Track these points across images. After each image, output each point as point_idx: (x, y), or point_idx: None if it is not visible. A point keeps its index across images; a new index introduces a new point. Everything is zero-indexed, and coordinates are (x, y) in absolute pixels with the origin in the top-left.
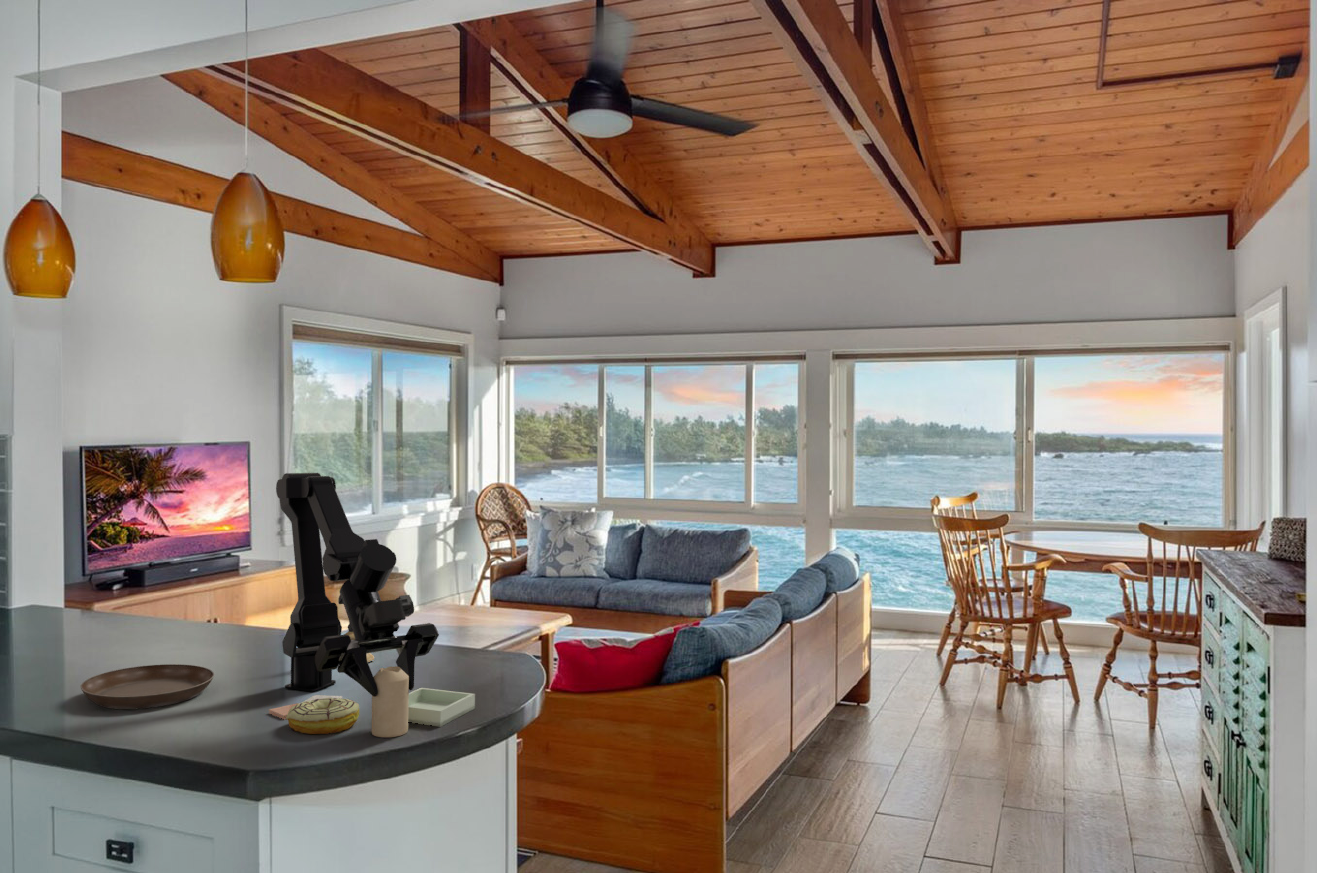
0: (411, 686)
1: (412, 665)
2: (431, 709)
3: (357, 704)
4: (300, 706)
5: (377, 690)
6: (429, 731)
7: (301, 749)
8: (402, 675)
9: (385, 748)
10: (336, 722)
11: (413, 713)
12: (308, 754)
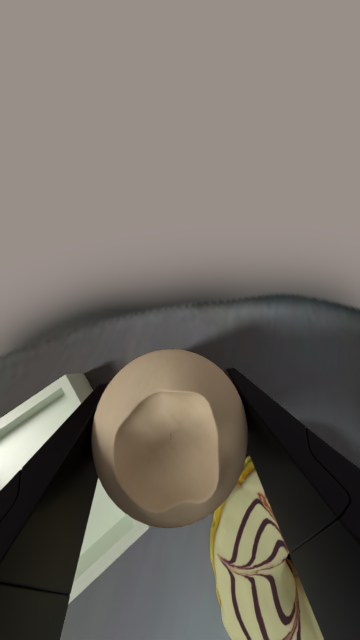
0: (107, 385)
1: (27, 473)
2: (74, 398)
3: (222, 545)
4: None
5: (229, 371)
6: (111, 360)
7: (327, 382)
8: (134, 374)
9: (205, 315)
10: None
11: None
12: (317, 350)
